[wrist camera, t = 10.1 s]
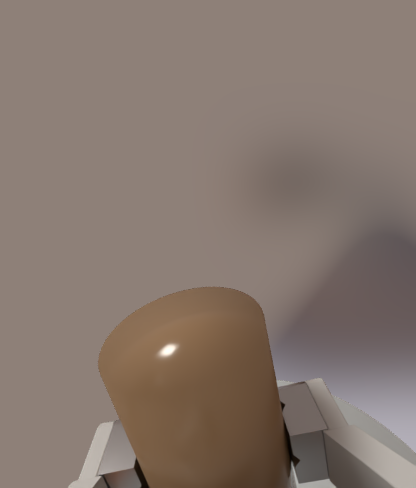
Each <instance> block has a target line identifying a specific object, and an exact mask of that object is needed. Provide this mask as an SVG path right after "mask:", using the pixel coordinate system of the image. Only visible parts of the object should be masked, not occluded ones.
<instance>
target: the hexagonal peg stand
mask: <svg viewBox="0 0 416 488" xmlns="http://www.w3.org/2000/svg"><path fill="white" fill-rule="evenodd" d="M98 367H99V372H100V375H101V377H102V379H103V382H104V384H105V386H106V389H107V391H108V393H109V396H110V398H111V400H112V402H113V405H114V407H115V409H116V412H117V414H118V416H119V419H120V421H121V423H122V426H123V428H124V430H125V433H126V435H127V437H128V439H129V442H130V444H131V446H132V449H133V451H134V453H135V456H136V458H137V460H138V462H139V465H140V467H141V469H142V472H143V474H144V476H145V479H146V481H147V483H148V485H149V488H336V487H335V486H334V484H333V483H332V482H331V481H330V479H325V480H319V481H313V482H307V483H301V484H299V483H298V480H297V477H296V473H295V470H294V467H293V464H292V461H291V456H290V450H289V445H288V439H287V434H286V430H285V424H284V419H283V413H282V408H281V402H280V397H279V392H278V387H280V386H285V385H289V384H294V383H293V382H288V381H281V380H276V376H275V371H274V366H273V360H272V355H271V350H270V345H269V339H268V334H267V329H266V324H265V318H264V314H263V311H262V308H261V307H260V305H259V304H258V303H257V302H256V301H255V300H254V299H253V298H252V297H251V296H249V295H247V294H245V293H243V292H241V291H238V290H235V289H230V288H224V287H201V288H193V289H188V290H183V291H179V292H176V293H173V294H169V295H167V296H164V297H162V298H159V299H157V300H155V301H152V302H150V303H149V304H147V305H145V306H143V307H141V308H140V309H138V310H136V311H135V312H133V313H132V314H131V315H129V316H128V317H127V318H125V319H124V320H123V321H122V322H121V323H120V324H119V325H118V326H117V327H116V328H115V329H114V330H113V331H112V332H111V334H110V335H109V336H108V338H107V339H106V340H105V342H104V344H103V346H102V348H101V351H100V354H99V360H98ZM332 397H333V398H334V400H335V402H336V404H337V405H338V407H339V409H340V411H341V413H342V414H343V416H344V418H345V420H346V421H347V423H348V425H355V426H357V427H358V428H360V429H361V430H363V431H364V432H366V433H367V434H369V435H370V436H372V437H373V438H375V439H376V440H378V441H379V442H381V443H382V444H384V445H385V446H387V447H388V448H390V449H391V450H393V451H394V452H396V453H397V454H398V455H400V456H401V457H403V458H404V459H406V460H407V461H409V462H410V463H412V464H413V465H415V466H416V453H415V452H414V451H413V450H412V449H411V448H409V447H408V446H407V445H406V444H405V443H404V442H403V441H402V440H400V439H399V438H398V437H397V436H396V435H394V434H393V433H392V432H390V430H388V429H387V428H386V427H385V426H383V425H382V424H380V423H379V422H377V421H376V420H375V419H373V418H372V417H371V416H369V415H368V414H366V413H365V412H363V411H362V410H359V409H358V408H356V407H354V406H352V405H351V404H349V403H347V402H346V401H344V400H342V399H340V398H337V397H335V396H333V395H332Z"/></svg>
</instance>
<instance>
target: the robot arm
mask: <svg viewBox="0 0 416 488" xmlns="http://www.w3.org/2000/svg"><path fill="white" fill-rule="evenodd" d="M278 392H279V397H280V402H281V408H282V413H283V419H284V424H285V430H286V434H287V439H288V445H289V450H290V456H291V461H292V464H293V467H294V470H295V473H296V477H297V480H298V483H299V484H301V483H307V482H313V481H319V480H325V479H330V481H331V482H332V483H333V484H334V486H335V487H336V488H416V466H415V465H413V464H412V463H410V462H409V461H407V460H406V459H404V458H403V457H401V456H400V455H398V454H397V453H396V452H394V451H393V450H391V449H390V448H388V447H387V446H385V445H384V444H382V443H381V442H379V441H378V440H376V439H375V438H373V437H372V436H370V435H369V434H367V433H366V432H364V431H363V430H361V429H360V428H358V427H357V426H355V425H348V423H347V421H346V420H345V418H344V416H343V414H342V413H341V411H340V409H339V407H338V405H337V404H336V402H335V400H334V398H333V397H332V395H331V393H330V391H329V390H328V388H327V386H326V384H325V382H324V381H323V379H321V378H317V379H313V380H308V381H305V382H298V383H294V384H289V385H285V386H280V387H278ZM68 488H149V485H148V483H147V481H146V479H145V476H144V474H143V472H142V469H141V467H140V465H139V462H138V460H137V458H136V456H135V453H134V451H133V449H132V446H131V444H130V442H129V439H128V437H127V435H126V433H125V430H124V428H123V426H122V423H121V421H120V420H116V421H112V422H106V423H101V424H100V425H99V427H98V428H97V430H96V433H95V436H94V438H93V441H92V444H91V447H90V449H89V452H88V455H87V457H86V460H85V463H84V466H83V469H82V471H81V474H80V476H79V479H78V480H77V481H73V482H72V483H71V484H70V486H69V487H68Z"/></svg>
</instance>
